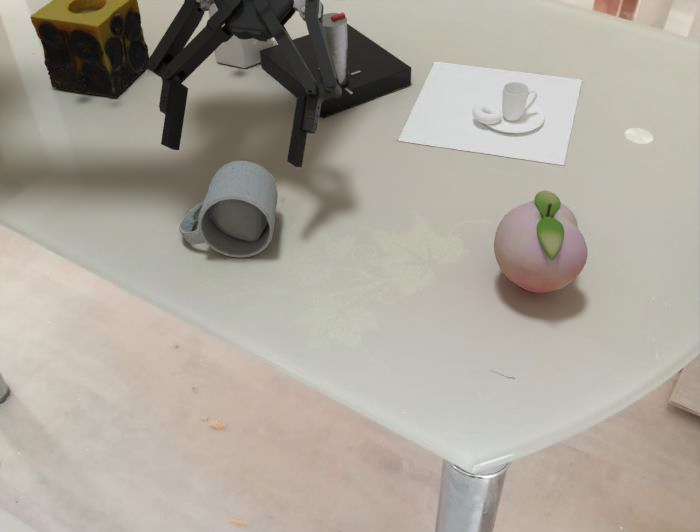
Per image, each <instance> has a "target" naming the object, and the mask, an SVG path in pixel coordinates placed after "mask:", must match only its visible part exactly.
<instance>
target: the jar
mask: <svg viewBox="0 0 700 532" xmlns="http://www.w3.org/2000/svg"><path fill="white" fill-rule="evenodd" d="M217 11H218V9H217V7H216V5H215V3H214V4H212V5H211V6H210V10H209V11H207V12H208V19H210V18H211V17H212V16H213V15H214V14H215V13H216V12H217ZM224 25H225V23H224V24H223V25H222V27H223V26H224ZM269 47H272V38H271V39H268V40H267V42H264V41H259V40H256V39H254V38H252V39H246V40H245V39H238V38H237V37H236V36H234V35H233V36H232V37H231V38H230V39H229V40H228V41H227V42H223V43H222V44H221V45H220V46H219V47H218V48H217V49H216V50H215V51H214V53H215V59H216V62H217V63H218V64H223V65H228V66H232V67H237V68H241V69H248V68H250V67H252V66H255V65H258V64H261V57H260V50H263V49H266V48H269Z"/></svg>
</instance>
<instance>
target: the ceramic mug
mask: <svg viewBox="0 0 700 532" xmlns="http://www.w3.org/2000/svg"><path fill="white" fill-rule="evenodd" d="M208 186H209V187H208V189H207V193H206V196H205V198H204V201H201V202H200V203H197V204H195V205H194V206H193V207H192V208H191V209H190V210H188V212H187V213H186V214H185V215H184V217H183V218H182V220H181V222H180V224H179V226H178V230H179V231H178V232H179V233H180V235H181V236H182V237H183V238H184V239H185V241H186V242H187V243H188V244H192V245H199V244H204V243H205V244H206V245H207V246H208V247H209V248H211V249H212V250H214V251H215V252H217V253H219V254H220V255H224V256H226V257H231V258H239V259H241V258H250V257H254V256H256V255H258V254H260V253H262V252H263V251H265V249H266V248H267V247H268V246H269V245H270V244H271V242H272V239H273V236H274V229H275V222H276V215H277V213H276V212H277V207H278V197H279V195H278V187H277V186H278V185H277V184H276V181H275V178H274V176H273V175H272V173H271V172H270V171H269V170H268V169H267V168H265V167H264V166H262V164H260V163H258V162H255V161H252V160H247V159H235V160H232V161H229V162H226V163H225V164H224V165H222V166H221V167H220V168H218V170H217V171H216V173H214V175H213V177H212V178H211V181H210V183H209V185H208ZM196 224H197V225H198V229H197V230H193V229H194V226H195V225H196Z"/></svg>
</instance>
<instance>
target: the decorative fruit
mask: <svg viewBox="0 0 700 532" xmlns="http://www.w3.org/2000/svg"><path fill="white" fill-rule="evenodd" d="M493 249H494V250H493V252H494V256H495V259H496V262H497V265H498V267H499V269H500V271H501V272H502V274H503V275H504V276H505V277H506V278H507V279H508V280H510V282H512V283H513V284H515V285H516V286H518V287H519V288H521V289H523V290H525V291H528V292H532V293H536V294H544V293H551V292H552V293H553V292H556V291H559V290H561V289H563V288H565V287H567V286H569V284H571V283H572V282H574V280H576V279H577V278H578V276H579V275H580V274H581V273H582V271H583V270H584V267H585V265H586V264H587V261H588V260H587V259H588V244H587V243H586V239H585V237H584V234H583V233H582V232H581V230H580V229H579V225H578V220H577V218H576V216H575V214H574V212H573V211H572V210H571V209H570V207H568V206H567V205H565V204H564V203H562V202H561V199H560V198H559V197H558V195H556V194H555V193H554V192H552V191H549V190H541V191H539V192H537V193H536V194H535V196H534V199H533V200H530V201H528V202H525V203H522V204H520V205H517V206H515V207H514V208H512V209H511V210H509V211H508V212H507V213H506V214H505V215H504V216H503V217H502V219H501V220H500V222H499V223H498V225H497V228H496V231H495V234H494V240H493Z"/></svg>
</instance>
